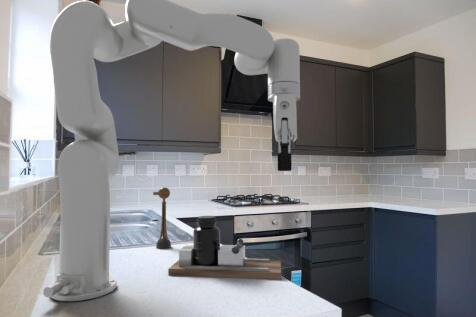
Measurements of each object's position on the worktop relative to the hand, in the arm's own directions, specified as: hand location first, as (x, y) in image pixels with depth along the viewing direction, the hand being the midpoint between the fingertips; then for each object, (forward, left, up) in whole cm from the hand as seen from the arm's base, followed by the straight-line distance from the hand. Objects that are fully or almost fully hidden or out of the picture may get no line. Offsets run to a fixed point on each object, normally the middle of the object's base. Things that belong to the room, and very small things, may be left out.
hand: (284, 170), depth 75 cm
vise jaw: (+5, +13, -23) cm, 27 cm away
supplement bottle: (+5, +20, -24) cm, 31 cm away
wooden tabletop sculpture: (+28, +40, -25) cm, 55 cm away
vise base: (+5, +15, -25) cm, 30 cm away
